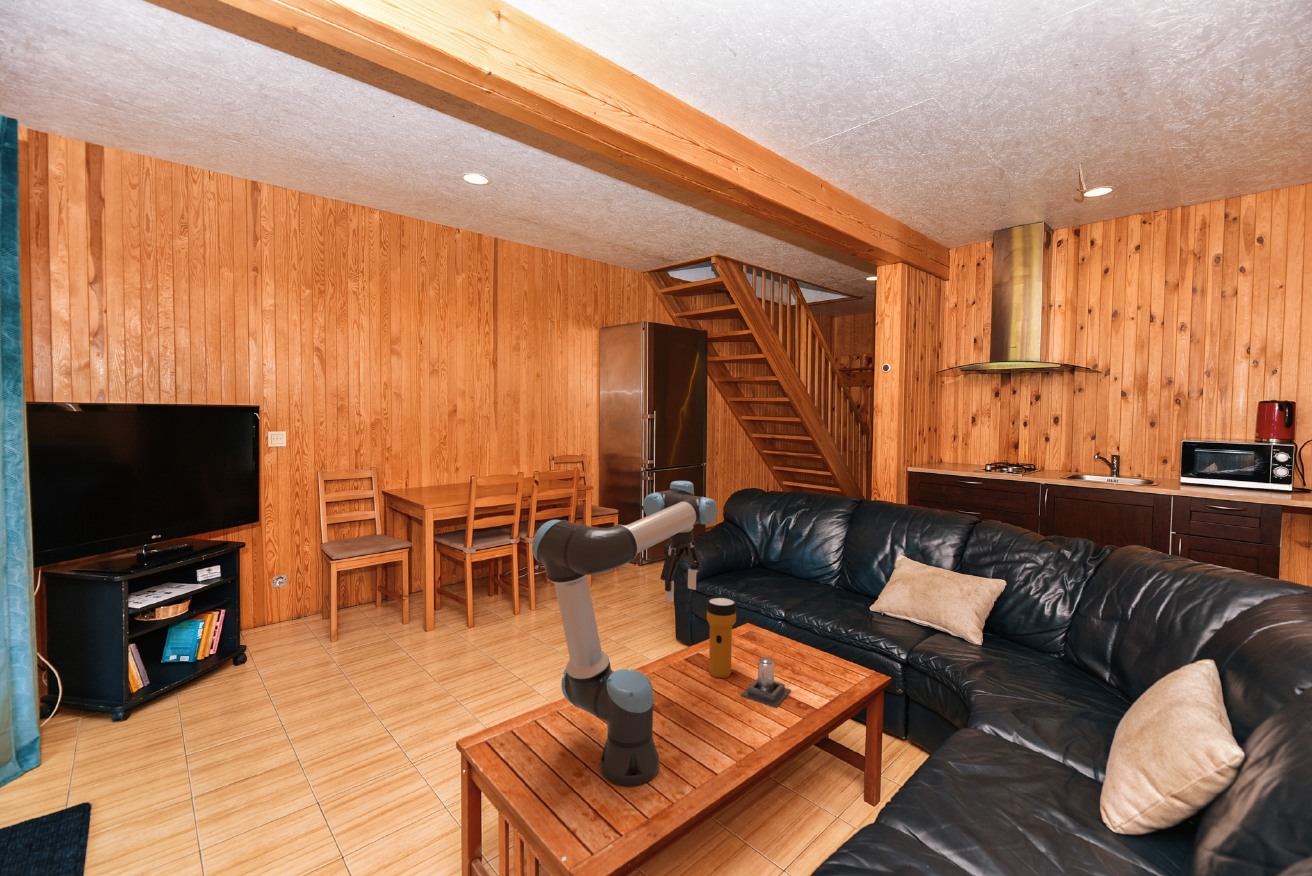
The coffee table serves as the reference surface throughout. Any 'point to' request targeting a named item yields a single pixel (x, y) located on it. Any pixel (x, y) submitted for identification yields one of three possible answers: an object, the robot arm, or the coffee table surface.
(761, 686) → the piston
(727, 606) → the flashlight
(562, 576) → the robot arm
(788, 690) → the collar
